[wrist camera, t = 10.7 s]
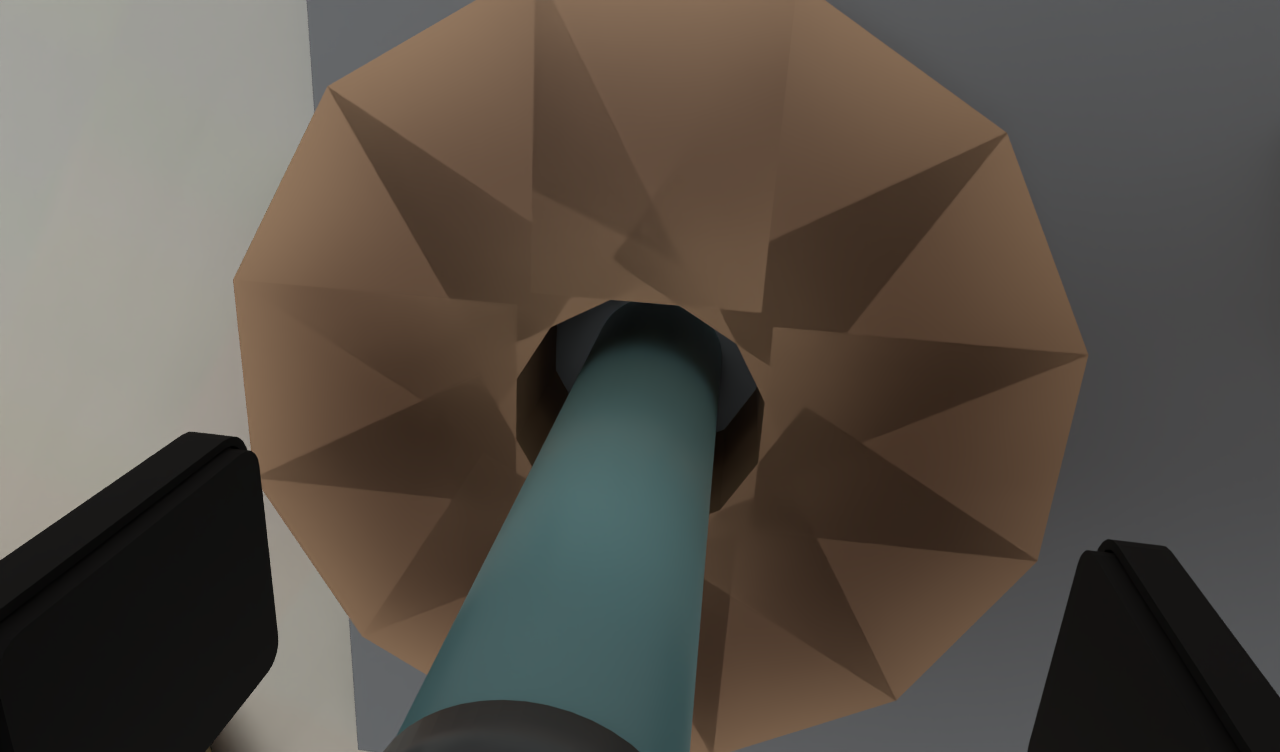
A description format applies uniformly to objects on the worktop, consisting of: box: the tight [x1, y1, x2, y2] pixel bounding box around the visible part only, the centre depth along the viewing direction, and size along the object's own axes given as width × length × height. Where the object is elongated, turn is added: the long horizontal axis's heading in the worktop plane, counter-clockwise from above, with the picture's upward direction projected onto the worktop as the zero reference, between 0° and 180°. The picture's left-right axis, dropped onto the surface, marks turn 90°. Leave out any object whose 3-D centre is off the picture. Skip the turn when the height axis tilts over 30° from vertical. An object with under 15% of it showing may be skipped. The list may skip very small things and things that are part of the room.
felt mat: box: [307, 0, 1280, 752], centre depth 19 cm, size 24×19×1 cm
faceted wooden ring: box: [233, 0, 1088, 752], centre depth 17 cm, size 14×14×4 cm
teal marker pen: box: [383, 302, 722, 752], centre depth 12 cm, size 3×3×14 cm
